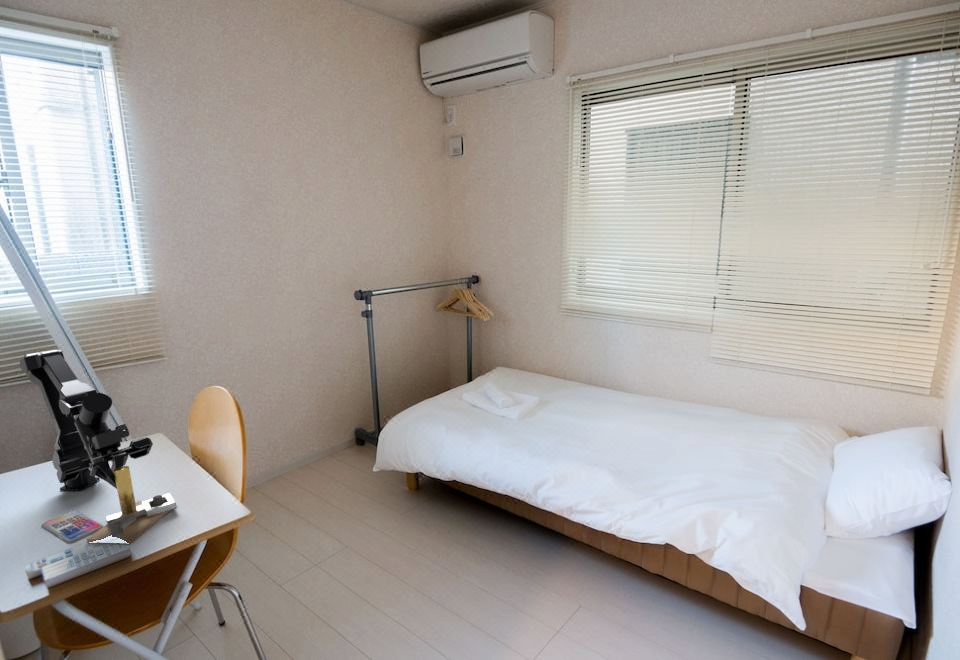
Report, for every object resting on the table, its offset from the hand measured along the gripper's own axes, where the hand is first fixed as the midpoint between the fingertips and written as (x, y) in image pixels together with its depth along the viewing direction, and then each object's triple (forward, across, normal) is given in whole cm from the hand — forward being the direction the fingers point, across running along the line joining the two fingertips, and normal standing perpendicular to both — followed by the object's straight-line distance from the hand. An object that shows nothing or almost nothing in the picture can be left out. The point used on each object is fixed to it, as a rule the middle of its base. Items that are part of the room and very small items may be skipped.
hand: (120, 488), depth 124 cm
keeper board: (+8, +1, +4) cm, 9 cm away
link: (+7, +3, +3) cm, 8 cm away
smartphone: (+1, -8, +12) cm, 15 cm away
